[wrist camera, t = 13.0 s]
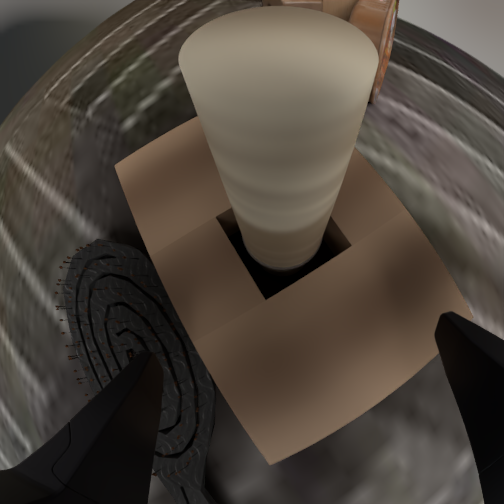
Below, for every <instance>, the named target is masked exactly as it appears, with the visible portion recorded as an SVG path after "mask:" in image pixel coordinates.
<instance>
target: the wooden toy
mask: <svg viewBox="0 0 504 504" xmlns="http://www.w3.org/2000/svg"><path fill="white" fill-rule="evenodd" d="M357 1H358V0H262V2H263V7H266V6H292V7H301V8H307V9H313V10H317V11H321V12H324V13H327V14H330V15H333V16H336V17H338V18H341V19H343V20H345V21H347V22H348V21H349V18H350V15H351V12H352V9H353V7H354V5H355V4H356V2H357Z"/></svg>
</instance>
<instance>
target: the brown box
mask: <svg viewBox="0 0 504 504" xmlns="http://www.w3.org/2000/svg"><path fill="white" fill-rule="evenodd" d="M115 169H116V172H117V174H118V177H119V180H120V183H121V185H122V188H123V191H124V194H125V196H126V199H127V202H128V204H129V207H130V209H131V212H132V214H133V217H134V219H135V222H136V224H137V227H138V229H139V232H140V234H141V236H142V239H143V241H144V243H145V246H146V248H147V250H148V253H149V255H150V257H151V259H152V262H153V264H154V266H155V268H156V270H157V273H158V275H159V277H160V279H161V281H162V283H163V285H164V288H165V290H166V292H167V294H168V296H169V298H170V300H171V302H172V304H173V306H174V308H175V310H176V312H177V314H178V316H179V318H180V320H181V322H182V324H183V326H184V327H185V329H186V331H187V333H188V335H189V337H190V339H191V341H192V342H193V344H194V346H195V348H196V350H197V352H198V353H199V355H200V357H201V359H202V361H203V362H204V364H205V366H206V368H207V369H208V371H209V373H210V374H211V376H212V378H213V380H214V381H215V383H216V385H217V386H218V388H219V390H220V391H221V393H222V395H223V396H224V398H225V399H226V401H227V403H228V404H229V406H230V407H231V409H232V411H233V412H234V414H235V415H236V417H237V418H238V420H239V421H240V423H241V424H242V426H243V427H244V429H245V430H246V432H247V433H248V435H249V436H250V438H251V439H252V441H253V442H254V444H255V445H256V447H257V448H258V449H259V451H260V452H261V454H262V455H263V456H264V458H265V459H266V461H267V462H268V463H269V465H272V464H274V463H276V462H278V461H281V460H283V459H285V458H287V457H289V456H291V455H293V454H295V453H297V452H299V451H301V450H303V449H305V448H307V447H308V446H310V445H312V444H314V443H316V442H318V441H319V440H321V439H323V438H325V437H326V436H328V435H330V434H332V433H333V432H335V431H337V430H338V429H340V428H341V427H343V426H345V425H346V424H348V423H349V422H351V421H352V420H354V419H356V418H357V417H359V416H360V415H362V414H363V413H365V412H366V411H367V410H369V409H370V408H372V407H373V406H375V405H376V404H377V403H379V402H380V401H381V400H383V399H384V398H386V397H387V396H388V395H390V394H391V393H392V392H393V391H395V390H396V389H397V388H399V387H400V386H401V385H402V384H404V383H405V382H406V381H407V380H409V379H410V378H411V377H412V376H413V375H415V374H416V373H417V372H418V371H419V370H420V369H422V368H423V367H424V366H425V365H426V364H427V363H428V362H429V361H431V360H432V359H433V358H434V357H435V356H436V355H437V354H438V353H439V350H438V347H437V344H436V341H435V337H434V333H435V329H436V326H437V323H438V320H439V317H440V315H441V314H442V313H445V312H449V311H453V312H455V313H457V314H458V315H460V316H462V317H464V318H466V319H467V320H469V321H471V319H472V318H473V315H472V313H471V311H470V309H469V307H468V305H467V304H466V302H465V300H464V298H463V296H462V294H461V293H460V291H459V289H458V287H457V285H456V284H455V282H454V280H453V278H452V277H451V275H450V273H449V272H448V270H447V268H446V267H445V265H444V264H443V262H442V260H441V259H440V257H439V256H438V254H437V252H436V251H435V249H434V248H433V246H432V245H431V243H430V242H429V240H428V239H427V237H426V236H425V234H424V233H423V232H422V230H421V229H420V227H419V226H418V224H417V223H416V222H415V220H414V219H413V218H412V216H411V215H410V213H409V212H408V211H407V209H406V208H405V207H404V205H403V204H402V203H401V201H400V200H399V199H398V198H397V196H396V195H395V194H394V192H393V191H392V190H391V189H390V187H389V186H388V185H387V184H386V183H385V181H384V180H383V179H382V178H381V177H380V175H379V174H378V173H377V172H376V171H375V169H374V168H373V167H372V166H371V165H370V164H369V162H368V161H367V160H366V159H365V158H364V157H363V156H362V155H361V153H360V152H359V151H358V150H357V149H356V148H355V147H354V149H353V152H352V155H351V158H350V161H349V164H348V167H347V170H346V173H345V176H344V179H343V182H342V185H341V187H340V190H339V193H338V196H337V199H336V202H335V204H334V207H333V210H332V213H331V215H330V218H329V221H328V223H327V226H326V229H325V231H324V234H323V239H324V241H325V242H326V244H327V245H328V247H329V248H330V249H331V251H332V252H333V254H334V255H335V257H334V258H333V259H331V260H330V261H328V262H327V263H325V264H323V265H322V266H320V267H319V268H317V269H316V270H314V271H312V272H311V273H309V274H308V275H306V276H305V277H303V278H301V279H300V280H298V281H297V282H295V283H293V284H292V285H290V286H288V287H287V288H285V289H284V290H282V291H280V292H279V293H277V294H275V295H274V296H272V297H270V298H269V299H267V300H265V298H264V297H263V295H262V293H261V292H260V290H259V289H258V287H257V285H256V284H255V282H254V280H253V279H252V277H251V275H250V274H249V272H248V270H247V269H246V267H245V265H244V264H243V262H242V260H241V259H240V257H239V256H238V254H237V252H236V251H235V249H234V247H233V246H232V244H231V242H230V241H229V239H228V237H229V236H231V235H233V234H234V233H236V232H238V231H239V230H240V228H239V225H238V223H237V220H236V217H235V215H234V212H233V209H232V207H231V204H230V201H229V198H228V196H227V193H226V190H225V188H224V185H223V182H222V180H221V177H220V174H219V171H218V169H217V166H216V163H215V161H214V158H213V155H212V153H211V150H210V147H209V144H208V142H207V139H206V136H205V134H204V131H203V128H202V125H201V123H200V120H199V117H198V116H197V117H195V118H193V119H191V120H189V121H187V122H185V123H184V124H182V125H180V126H178V127H176V128H174V129H173V130H171V131H169V132H167V133H166V134H164V135H162V136H160V137H159V138H157V139H155V140H154V141H152V142H150V143H149V144H147V145H145V146H144V147H142V148H141V149H139V150H137V151H136V152H134V153H133V154H131V155H130V156H128V157H126V158H125V159H123V160H122V161H120V162H119V163H117V164H116V165H115Z"/></svg>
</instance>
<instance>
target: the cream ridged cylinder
mask: <svg viewBox="0 0 504 504" xmlns="http://www.w3.org/2000/svg"><path fill="white" fill-rule="evenodd" d="M378 63H379V56H378V53H377V50H376V48H375V46H374V44H373V43H372V41H371V40H370V39H369V38H368V37H367V36H366V35H365V34H364V33H363V32H362V31H361V30H359V29H358V28H357V27H355V26H354V25H352V24H350V23H349V22H347V21H345V20H343V19H341V18H338V17H336V16H333V15H330V14H327V13H324V12H321V11H317V10H313V9H307V8H301V7H292V6H266V7H256V8H249V9H245V10H240V11H236V12H233V13H229V14H226V15H224V16H221V17H219V18H216V19H214V20H212V21H210V22H208V23H207V24H205V25H203V26H202V27H200V28H199V29H197V30H196V31H195V32H194V33H193V34H191V35H190V37H189V38H188V39H187V40H186V41H185V43H184V44H183V46H182V48H181V50H180V53H179V66H180V68H181V71H182V74H183V76H184V79H185V82H186V85H187V87H188V90H189V93H190V96H191V98H192V101H193V104H194V106H195V109H196V112H197V115H198V117H199V120H200V123H201V125H202V128H203V131H204V134H205V136H206V139H207V142H208V144H209V147H210V150H211V153H212V155H213V158H214V161H215V163H216V166H217V169H218V171H219V174H220V177H221V180H222V182H223V185H224V188H225V190H226V193H227V196H228V198H229V201H230V204H231V207H232V209H233V212H234V215H235V217H236V220H237V223H238V225H239V228H240V231H241V233H242V238H243V242H244V245H245V247H246V249H247V251H248V253H249V254H250V256H251V257H252V258H253V259H254V260H255V261H256V262H258V263H259V264H260V266H261V267H262V268H263V269H264V270H265V271H267V272H268V273H270V274H272V275H275V276H289V275H293V274H295V273H297V272H298V271H300V270H301V269H302V268H303V267H304V265H305V264H306V263H308V262H309V261H310V260H311V259H312V258H313V257H314V256H315V254H316V253H317V251H318V250H319V247H320V245H321V242H322V238H323V234H324V231H325V229H326V226H327V223H328V221H329V218H330V215H331V213H332V210H333V207H334V204H335V202H336V199H337V196H338V193H339V190H340V187H341V185H342V182H343V179H344V176H345V173H346V170H347V167H348V164H349V161H350V158H351V155H352V152H353V149H354V146H355V143H356V140H357V136H358V133H359V130H360V127H361V123H362V120H363V117H364V114H365V110H366V107H367V103H368V100H369V96H370V93H371V89H372V86H373V82H374V78H375V75H376V71H377V67H378Z"/></svg>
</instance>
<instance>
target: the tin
mask: <svg viewBox="0 0 504 504" xmlns="http://www.w3.org/2000/svg"><path fill="white" fill-rule="evenodd" d="M398 5H399V0H358V1H357V2H356V4H355V5H354V7H353V9H352V12H351V15H350V18H349V21H348V22H349V23H350V24H352V25H354V26H355V27H357V28H358V29H359V30H361V31H362V32H363V33H364V34H365V35H366V36H367V37H368V38H369V39H370V40H371V41H372V43H373V44H374V46H375V48H376V50H377V53H378V56H379V63H378V67H377V71H376V75H375V78H374V82H373V86H372V89H371V93H370V96H369V100H368V101H369V102H371V103H372V104H375V103H376V101H377V98H378V95H379V92H380V88H381V85H382V82H383V78H384V75H385V72H386V68H387V65H388V61H389V58H390V53H391V49H392V45H393V39H394V33H395V27H396V20H397V13H398Z"/></svg>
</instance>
